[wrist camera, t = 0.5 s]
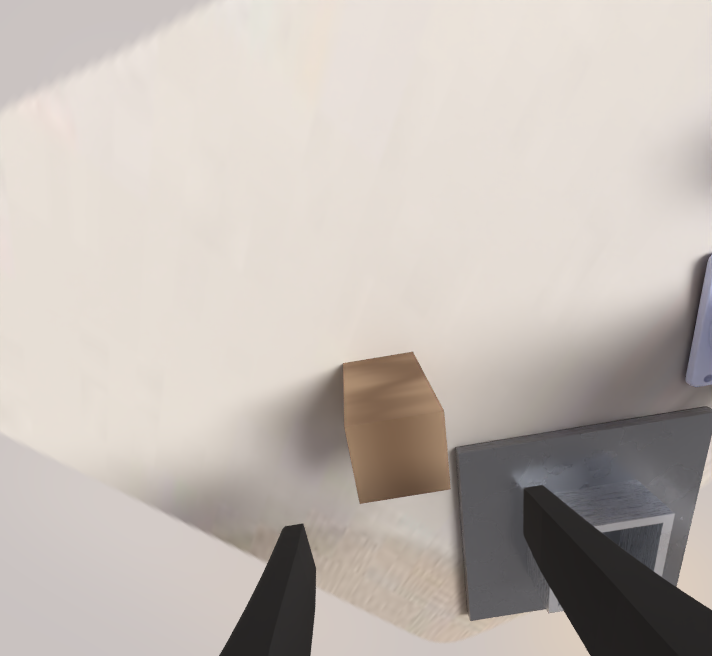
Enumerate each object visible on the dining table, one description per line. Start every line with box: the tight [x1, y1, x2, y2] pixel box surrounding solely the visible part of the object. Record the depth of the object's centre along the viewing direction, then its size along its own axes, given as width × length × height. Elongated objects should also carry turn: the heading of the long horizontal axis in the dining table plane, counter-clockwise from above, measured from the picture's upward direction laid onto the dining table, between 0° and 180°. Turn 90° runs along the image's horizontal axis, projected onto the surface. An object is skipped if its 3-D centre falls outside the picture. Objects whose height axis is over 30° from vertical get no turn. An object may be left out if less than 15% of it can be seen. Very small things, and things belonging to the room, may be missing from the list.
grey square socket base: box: [455, 407, 712, 621], centre depth 22 cm, size 16×16×3 cm
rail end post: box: [343, 352, 450, 504], centre depth 17 cm, size 4×4×6 cm
